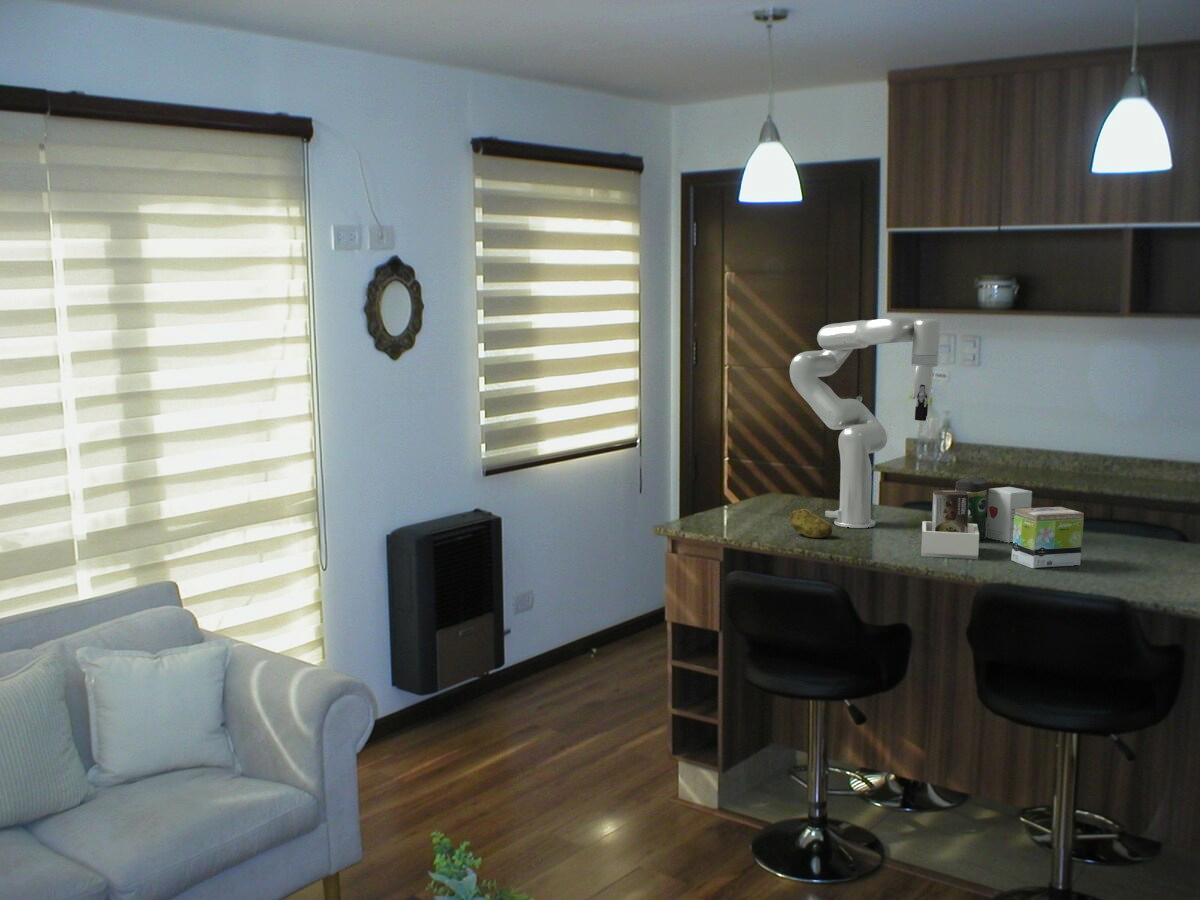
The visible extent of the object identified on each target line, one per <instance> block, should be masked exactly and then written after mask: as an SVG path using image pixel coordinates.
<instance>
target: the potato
mask: <svg viewBox="0 0 1200 900" xmlns="http://www.w3.org/2000/svg"><path fill="white" fill-rule="evenodd" d="M788 518H789V519H788V520H789V523H790V524H791V527H793V529H794V530H796V531H797V532H799V533H800V534H802V535H803V536H805V537H808V538H813V539H821V538H824V539H825V538H827V537H829V536H831V535H832V534H833V526H832V524H831V523H829V522H828V521H826V520H825V519H823V518H822V517H820V516H819V515H817V514H816V513H813V512H812V511H811V510H809V509H805V508H797V509H794V510H793V511H791V512H790V514H789V516H788Z"/></svg>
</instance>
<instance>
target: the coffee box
mask: <svg viewBox="0 0 1200 900" xmlns="http://www.w3.org/2000/svg"><path fill="white" fill-rule="evenodd" d="M968 500H969V495H968V494H967V492H966V491H955V490H949V489H948V490H945V489H944V490H941V489H940V490H939V489H938V490H935V489H933V490H932V516H931V517H932V521H931V522H932V531H936V532H956V533H968Z"/></svg>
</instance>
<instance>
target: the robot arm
mask: <svg viewBox="0 0 1200 900" xmlns="http://www.w3.org/2000/svg"><path fill="white" fill-rule="evenodd" d="M940 334H941V322H940V321H939V320H938V319H934V318H917V317H913V316H893V317H885V318H883V317H882V318H877V319H868V320H865V319H862V320H861V319H860V320H854V321H847V322H846V321H845V322H839V323H830V324H827V325H824V326H823V327H821V328H820V329H819V331H818V333H817V337H816V340H817V343H818V345H819V346H820V347H821V349H822V350H809V351H808V350H806V351H802V352H800V353H798V354H796V355H795V356H794V357H793V358H792V359H791V362H790V366H789V377H790V381H791V383H792V385H793V387H794V389H795V391H797V393H798V394H799V395H800V396H801V397H802V398H803V400H804V401H805V402H806V403H807V404H808V405H809V406H810V407H811V409H812V410H813V411H814V413H815V414H816V415H817V417H819V418H820V420H821V421H822V422H823V423H824V424H825V426H826V427H828V429H830V430H833V431H837V430H840V431H841V430H842V431H841V432H840V434H839V435H838V441H837V442H838V451H839V458H840V482H839V483H840V484H839V490H840V491H839V508H838V509H837V510H834V511H833V510H825V512H824V513H825V514H824V517H825V518H826V517H828V518H835V519H834V521H833V523H834V525H835V526H838V527H842V528H847V527H849V529H867V528H868V527H869V528H873V527H875V526H876V521H875V520H874V519H872V518H871V512H872V511H871V508H872V507H871V505H872V472H873V470H872V468H873V467H872V464H871V463H872V462H871V459H870V456H869V454H874V453H878V452H881V451H882V450H883V449H884V448H885V447H886V445H887V443H888V433H887V431H886V429H885V428H884V426H883V425H882V424H881V422H880V421H879V420H878V419H877V417H876V416H874V415H873V413H872V412H871V411H870V410H869V408H868V407H866V405H865V404H864V403H863V402H861V401H860V400H857V399H855V398H841V397H839V396H838V395H837V394H836V393H835V392H834V390H832V388H831V386H829V385H828V384H827V383H825V382H824V381H822V380H821V379H820V377H823V378H824V377H829V376H832V375H834V374H835V373H836V372H837V371H838V370H839V369H840V368H841V366H842V365H843V364H844V362H845V361H846V360H847V359H848V358H849V356H850V354H851V353H852V352H853V350H857V349H866V348H867V347H869V346H875V345H884V344H895V343H897V344H899V343H912V348H911V349H912V350H911V351H912V352H911V364H910V366H913V367H914V371H913V379H912V380H913V381H912V382H913V383H912V397H911V399H913V400H916V405H915V409H914V411H915V412H914V420H915V421H919V422H920V421H922V422H925V421H927V417H928V411H929V403H928V400H929V399H930V396H931V393H932V386H933V376H934V367H935V368H937V367H938V366H939V349H940V336H941V335H940Z"/></svg>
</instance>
